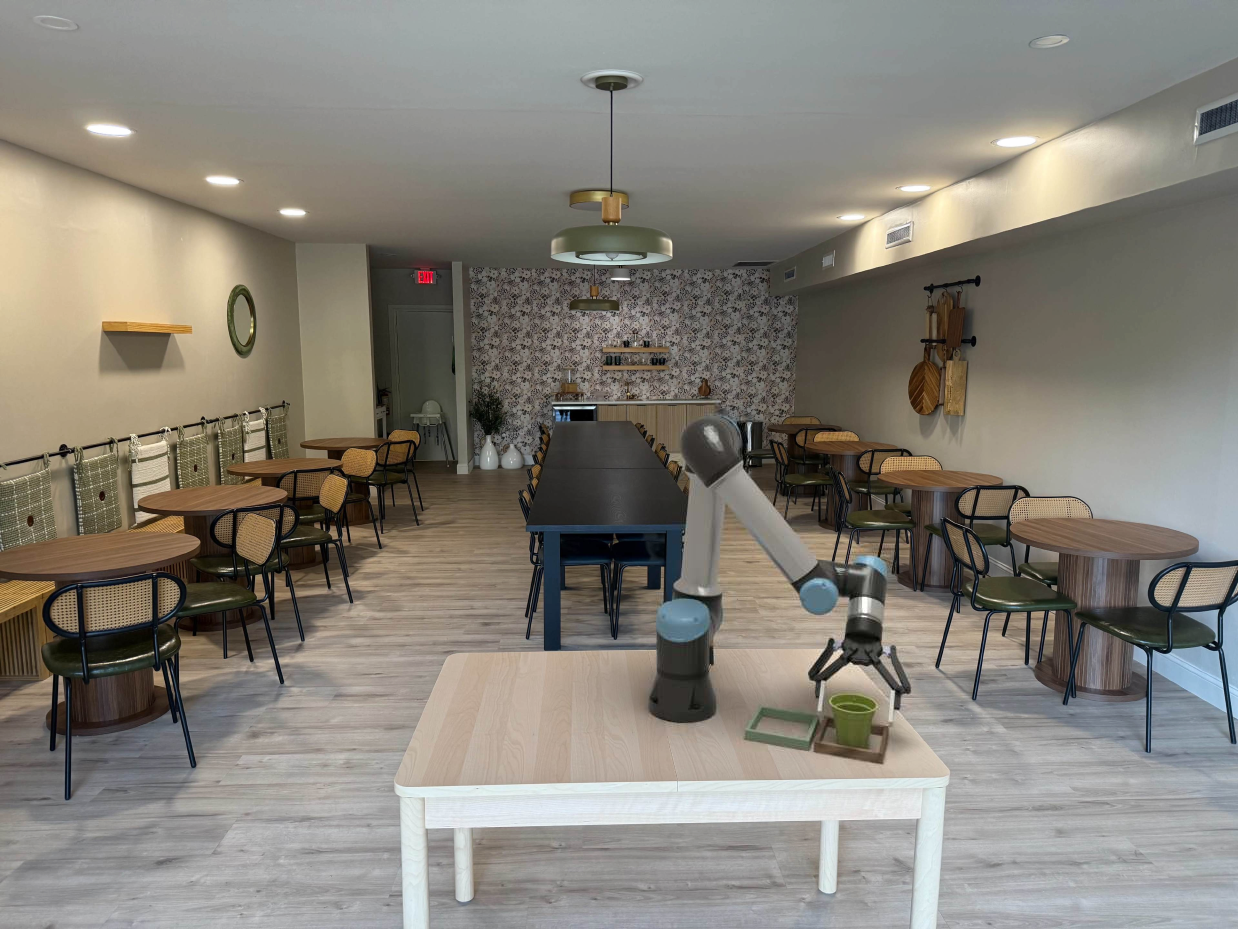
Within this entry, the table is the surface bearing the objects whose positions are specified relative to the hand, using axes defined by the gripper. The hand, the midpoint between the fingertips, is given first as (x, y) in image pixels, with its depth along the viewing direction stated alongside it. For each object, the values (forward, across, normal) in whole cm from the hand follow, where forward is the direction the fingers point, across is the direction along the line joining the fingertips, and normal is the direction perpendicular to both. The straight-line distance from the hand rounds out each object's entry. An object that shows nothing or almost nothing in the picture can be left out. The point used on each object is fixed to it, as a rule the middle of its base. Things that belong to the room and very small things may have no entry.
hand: (854, 719), depth 161 cm
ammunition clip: (-18, +43, -26) cm, 53 cm away
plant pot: (+3, 0, -5) cm, 6 cm away
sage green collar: (+3, +15, -5) cm, 16 cm away
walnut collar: (+3, 0, -5) cm, 6 cm away
